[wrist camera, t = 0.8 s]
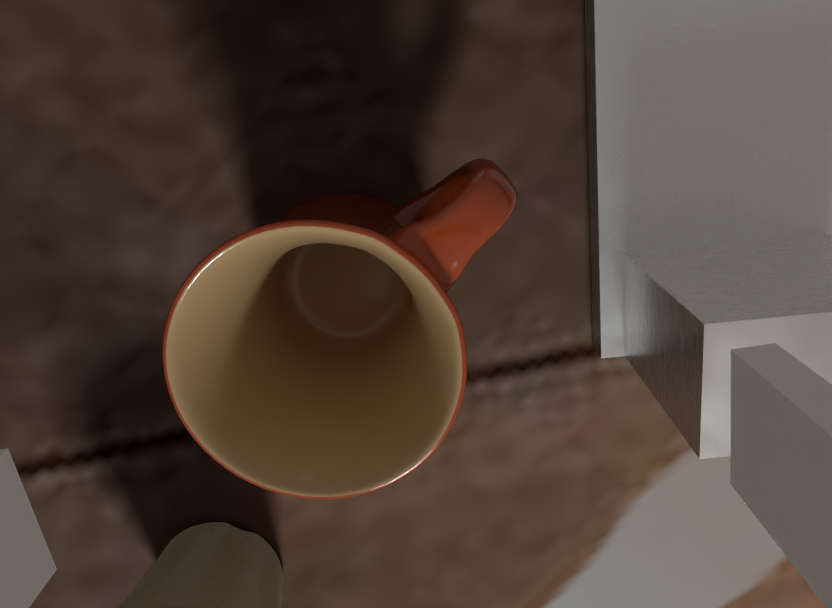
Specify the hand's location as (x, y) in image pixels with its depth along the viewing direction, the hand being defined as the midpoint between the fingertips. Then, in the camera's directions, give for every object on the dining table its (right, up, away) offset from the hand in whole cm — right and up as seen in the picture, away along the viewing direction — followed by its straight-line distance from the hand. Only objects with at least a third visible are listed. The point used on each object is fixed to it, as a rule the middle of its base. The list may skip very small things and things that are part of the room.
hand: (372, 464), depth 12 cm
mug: (-1, +5, +16) cm, 17 cm away
